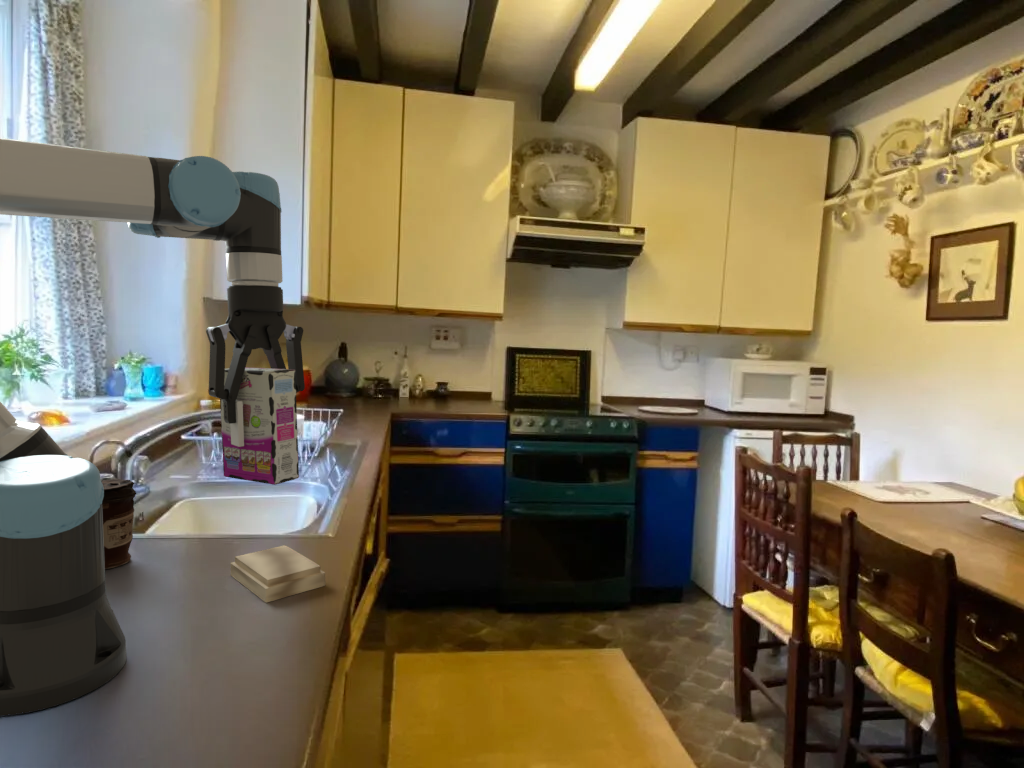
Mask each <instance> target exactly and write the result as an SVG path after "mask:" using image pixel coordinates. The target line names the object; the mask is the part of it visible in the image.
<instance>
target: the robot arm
mask: <svg viewBox="0 0 1024 768" xmlns="http://www.w3.org/2000/svg"><path fill="white" fill-rule="evenodd" d="M280 194H281V193H280V189H279V184H278V181H276V179H275V178H273V177H272V176H270V175H268V174H264V173H259V172H253V171H247V172H246V171H232V170H231V169H230V167H228V166H227V165H226V164H224V163H223V161H220V160H218V159H216V158H214V157H210V156H206V155H195V156H190V157H189V156H188V157H185V158H183V159H180V160H179V159H173V158H164V157H155V156H146V155H140V154H139V155H138V154H132V153H131V154H130V153H124V152H115V151H109V150H107V151H106V150H99V149H91V148H85V147H84V148H83V147H76V146H68V145H60V144H52V143H46V142H45V143H43V142H37V141H27V140H20V139H19V140H18V139H13V138H4V137H0V215H2V216H3V215H5V216H17V217H18V216H21V217H22V216H23V217H34V218H50V219H52V218H53V219H65V220H82V221H94V222H95V221H96V222H97V221H98V222H101V221H102V222H114V223H127V224H126V225H127V226H128V229H129V230H130V231H131V232H133V234H137V235H141V236H142V235H143V236H151V237H155V238H157V239H160V238H161V237H162V238H163V237H164V238H174V239H175V238H179V239H195V240H196V239H197V240H211V241H216V242H217V241H222V242H223V241H224V244H225V260H226V261H225V262H226V266H225V267H226V281H228V283H231V285H229V286H228V287H227V288H226V291H227V292H226V295H227V313H228V316H227V319H226V320H225V323H224V324H220V325H218V326H208V327H207V328H206V330H205V333H206V335H207V338H208V342H209V367H208V368H209V369H208V394H209V395H208V396H210V397H213V398H216V399H219V400H220V399H222V401H223V407H224V420H225V423H229V424H230V426H231V444H232V445H235V446H238V447H241V446H244V429H243V401H239V400H236V399H237V396H238V392H239V389H240V385H241V382H242V378H243V374H244V371H245V368H247V367H246V366H247V364H248V358H249V357H250V356H251V354H252V350H257V349H261V350H262V351H263V353H264V355H266V358H267V360H268V364H269V367H270V368H272V369H292V370H295V379H296V394H297V393H300V392H302V391H303V392H304V391H305V388H306V384H305V375H304V364H303V353H302V351H303V350H302V338H303V334H304V328H303V327H302V326H294V325H291V324H287V323H286V320H285V318H284V316H283V313H284V291H283V289H282V287H281V286H279V284H282V283H283V263H282V262H283V257H282V206H281V197H280V196H281V195H280ZM228 334H230V335H231V337H232V338H233V339H234V346H233V348H232V353H233V354H232V357H231V361H230V364H229V367H228V368H229V371H228V375H227V378H226V382H225V385H224V379H225V369H226V340H228ZM283 334H284V338H285V339H286V340H285V345H286V346H285V347H286V357H287V366H286V364H285V361H284V358H283V355H282V347H281V345H280V341H279V339H280V337H281V336H282V335H283ZM101 481H102V479H101V471H99V469H98V467H97V466H96V465H95V464H94V463H93V462H91V461H90V460H87V459H84V458H82V457H73V456H72V455H68V454H67V453H65V451H64V450H63V449H62V448H61V447H60V446H59V444H57V442H56V441H55V440H54V439H53V438H52V437H51V435H50V434H48V432H47V431H46V430H45V428H44V427H43V426H42V425H41V424H40V423H36V422H29V421H21V420H18V419H16V418H15V416H14V415H13V414H12V413H11V412H10V410H8V409H7V407H6V406H5V405H4V404H3V403H2V401H0V717H3V716H4V717H5V716H14V715H21V714H27V713H32V712H38V711H40V710H45V709H49V708H51V707H52V708H53V707H56V706H59V705H62V704H65V703H67V702H71V701H73V700H75V699H78V698H80V697H82V696H84V695H87V694H88V693H91V692H92V691H94V690H97V689H99V688H101V686H104V684H106V683H108V682H109V681H110V680H112V679H113V678H114V677H116V676H117V675H118V674H119V672H120V671H121V670H122V669H123V668H124V666H125V665H126V662H127V642H126V641H127V640H126V637H125V634H124V632H123V630H122V628H121V626H120V623H119V622H118V619H117V617H116V615H115V613H114V610H113V609H112V608H113V607H111V604H110V602H109V600H108V597H107V591H106V590H107V589H106V569H105V561H104V538H103V515H102V500H103V498H104V488H103V484H102V482H101Z"/></svg>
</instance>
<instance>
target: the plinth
mask: <svg viewBox="0 0 1024 768" xmlns="http://www.w3.org/2000/svg"><path fill="white" fill-rule="evenodd" d="M229 564H230V577H232V578H234V579H235V580H236V581H238V583H240V584H241V585H243V587H245V588H246V589H247V590H249V591H250V592H251V593H253V595H255V596H256V597H258V598H259V599H260V600H261V601H263V602H264V603H271V602H273V601H277V600H280V599H284V598H288V597H291V596H294V595H298V594H301V593H304V592H308V591H311V590H315V589H318V588H322V587H325V586H326V572H325V571H323V570H322V569H321V565H319V564H318V563H316V562H314V560H311V559H310V558H308V557H306V556H304V555H303V554H302V553H299V552H298V551H296V550H295V549H292V548H291V547H289V546H287V545H286V544H285V545H284V544H283V545H280V546H275V547H271V548H267V549H263V550H258V551H252V552H249V553H245V554H241V555H237V556H234V561H233V562H230V563H229Z"/></svg>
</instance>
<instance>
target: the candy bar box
mask: <svg viewBox="0 0 1024 768" xmlns="http://www.w3.org/2000/svg"><path fill="white" fill-rule="evenodd" d="M229 368H230V367H228V368H225V379H224V385H225V382H226V378H227V375H228V371H229ZM236 400H239V401H243V429H244V446H241V447H238V446H235V445H232V444H231V426H230V424H229V423H225V420H224V407H223V401H222V399H220V398H219V403H220V408H219V409H220V423H221V426H220V427H221V444H222V445H221V447H222V466H223V477H225V478H229V479H237V480H243V481H248V482H255V483H260V484H261V483H262V484H267V485H272V486H273V485H275V486H276V485H279V484H284V483H286V482H290V481H294V480H297V479H299V478H300V467H299V442H298V440H299V439H298V412H297V411H298V408H297V393H296V379H295V370H292V369H288V368H286V369H272V368H271V367H270V368H269V367H267V368H265V367H245V371H244V374H243V378H242V382H241V385H240V389H239V392H238V396H237V399H236Z"/></svg>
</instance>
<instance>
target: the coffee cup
mask: <svg viewBox="0 0 1024 768" xmlns="http://www.w3.org/2000/svg"><path fill="white" fill-rule="evenodd" d="M101 482H102V484H103V488H104V498H103V500H102V515H103V538H104V561H105V570H109V569H113V568H117V567H119V566H122V565H125V564H127V563H129V562H130V561H131V559H132V555H131V554H130V553H129V550H130V547H131V542H132V541H133V537H134V536H133V532H134V531H133V530H134V527H133V526H134V520H135V519H134V517H135V515H134V513H135V508H134V503H135V500H134V498H135V497H136V495H137V491H136V490H135V489H134V488H133V487H134V485H135V483H134V481H133V480H131V479H121V478H112V479H104V480H101Z"/></svg>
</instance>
